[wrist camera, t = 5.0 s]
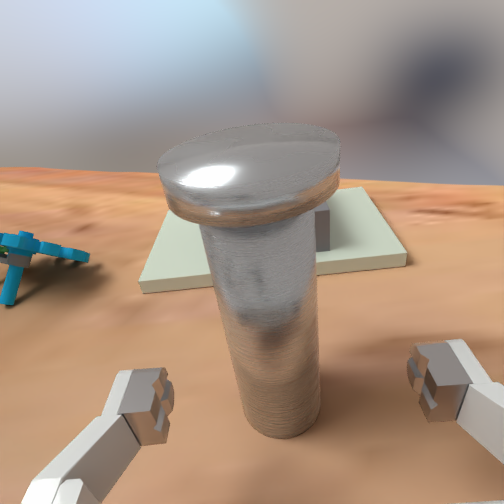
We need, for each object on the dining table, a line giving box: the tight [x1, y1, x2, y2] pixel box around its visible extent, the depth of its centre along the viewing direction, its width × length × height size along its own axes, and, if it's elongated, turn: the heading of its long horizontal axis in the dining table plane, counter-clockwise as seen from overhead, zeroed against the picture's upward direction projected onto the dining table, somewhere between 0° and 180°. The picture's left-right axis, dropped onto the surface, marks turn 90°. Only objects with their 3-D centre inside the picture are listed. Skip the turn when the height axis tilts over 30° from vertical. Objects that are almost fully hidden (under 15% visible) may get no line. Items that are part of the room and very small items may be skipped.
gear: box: [0, 231, 90, 305], centre depth 28 cm, size 11×6×10 cm
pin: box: [157, 123, 340, 439], centre depth 14 cm, size 6×6×13 cm
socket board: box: [138, 187, 407, 293], centre depth 30 cm, size 20×12×5 cm, turn 90°
